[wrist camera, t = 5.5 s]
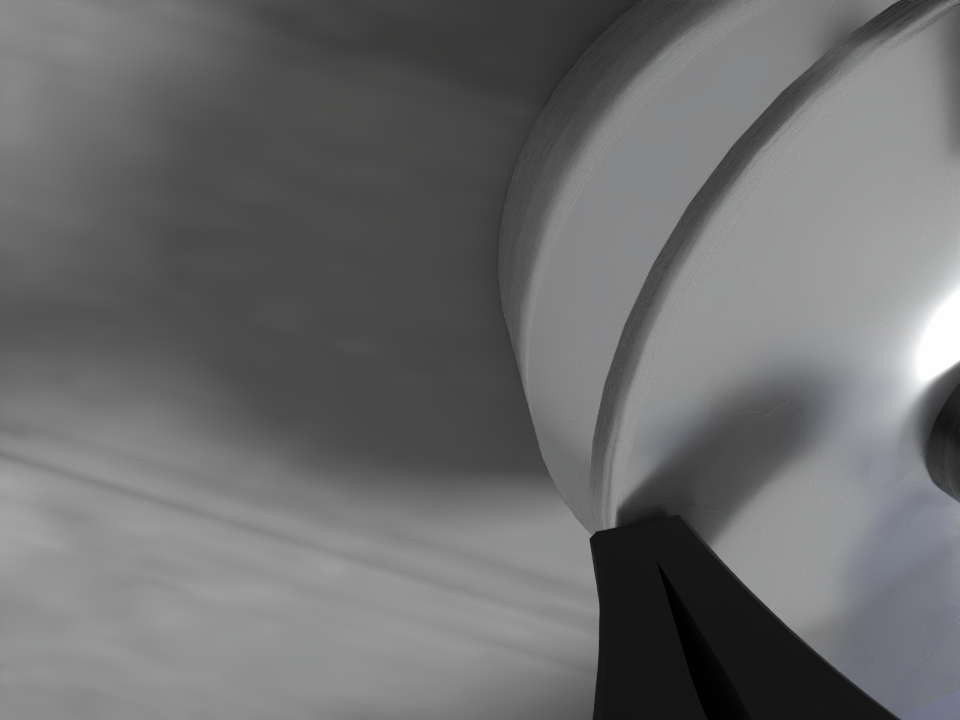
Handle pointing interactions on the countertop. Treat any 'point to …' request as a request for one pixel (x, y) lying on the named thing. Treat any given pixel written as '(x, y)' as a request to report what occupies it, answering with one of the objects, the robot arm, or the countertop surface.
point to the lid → (816, 361)
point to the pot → (632, 185)
